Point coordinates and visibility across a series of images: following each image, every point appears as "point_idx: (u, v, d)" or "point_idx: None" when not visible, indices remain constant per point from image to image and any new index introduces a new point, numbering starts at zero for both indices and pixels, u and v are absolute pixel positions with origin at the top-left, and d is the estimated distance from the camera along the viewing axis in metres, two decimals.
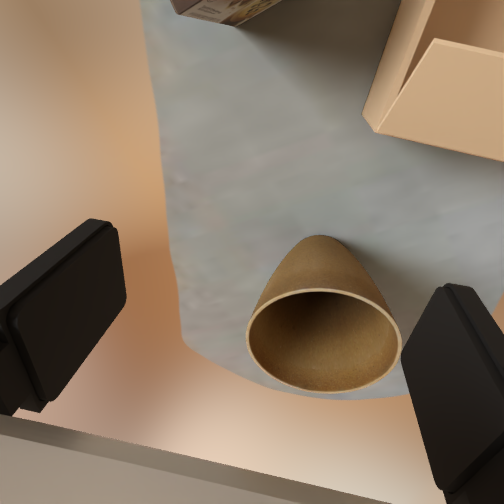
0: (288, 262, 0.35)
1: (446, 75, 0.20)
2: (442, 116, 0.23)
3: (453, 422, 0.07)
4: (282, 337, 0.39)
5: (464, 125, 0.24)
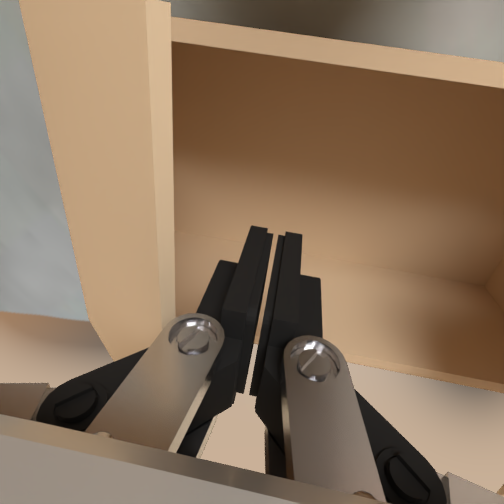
0: None
1: (110, 111, 0.07)
2: (74, 149, 0.09)
3: None
4: None
5: (81, 202, 0.11)
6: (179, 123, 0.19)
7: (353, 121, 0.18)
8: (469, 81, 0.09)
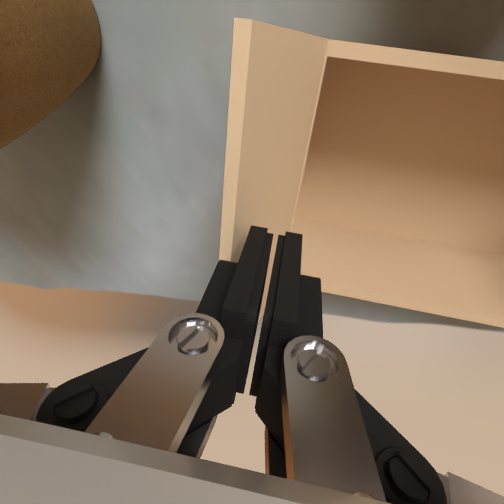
0: None
1: None
2: None
3: None
4: None
5: None
6: (328, 126, 0.23)
7: (485, 125, 0.21)
8: None
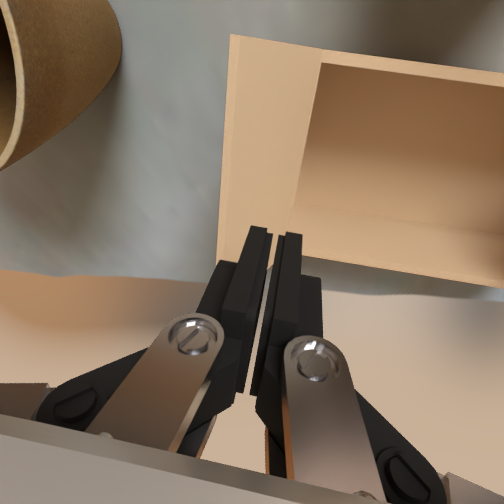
0: None
1: None
2: None
3: None
4: None
5: None
6: (320, 120, 0.27)
7: (449, 118, 0.26)
8: None
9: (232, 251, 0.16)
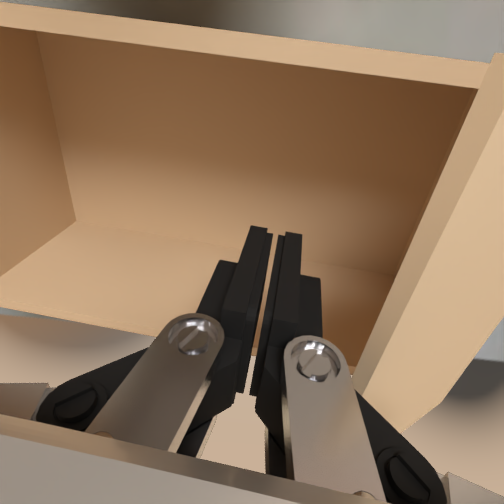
0: None
1: None
2: None
3: None
4: None
5: None
6: (72, 113, 0.19)
7: (237, 109, 0.18)
8: (243, 55, 0.09)
9: None
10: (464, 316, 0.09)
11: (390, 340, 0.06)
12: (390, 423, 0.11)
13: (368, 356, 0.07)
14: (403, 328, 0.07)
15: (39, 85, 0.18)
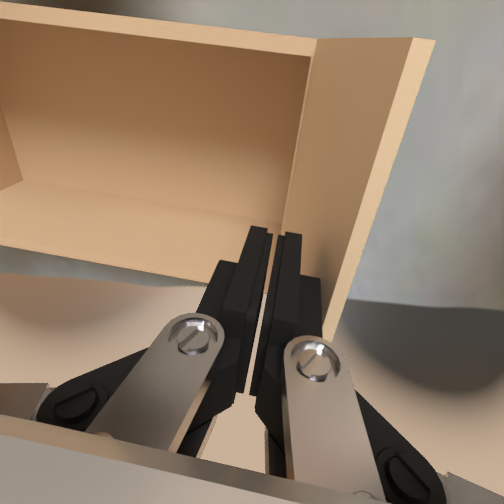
0: None
1: None
2: None
3: None
4: None
5: None
6: (10, 86, 0.24)
7: (136, 79, 0.22)
8: (73, 25, 0.14)
9: None
10: None
11: (354, 272, 0.08)
12: None
13: (338, 294, 0.08)
14: None
15: None
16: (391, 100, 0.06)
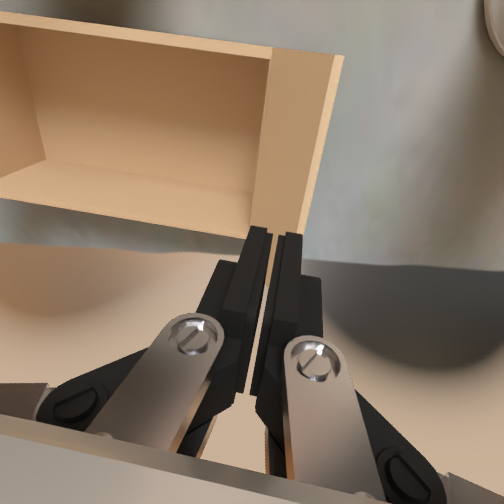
0: None
1: None
2: None
3: None
4: None
5: None
6: (40, 80, 0.30)
7: (143, 76, 0.28)
8: (106, 36, 0.20)
9: None
10: None
11: (315, 181, 0.15)
12: None
13: (307, 197, 0.15)
14: None
15: (18, 61, 0.28)
16: (327, 84, 0.12)
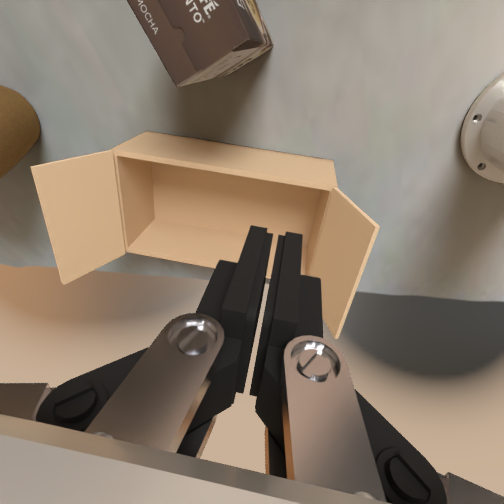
0: None
1: None
2: None
3: None
4: None
5: None
6: (160, 171, 0.44)
7: None
8: (233, 174, 0.33)
9: (64, 251, 0.33)
10: None
11: (361, 275, 0.28)
12: None
13: (356, 282, 0.29)
14: None
15: (149, 161, 0.42)
16: (370, 236, 0.26)
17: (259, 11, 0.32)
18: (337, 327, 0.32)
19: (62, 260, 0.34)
